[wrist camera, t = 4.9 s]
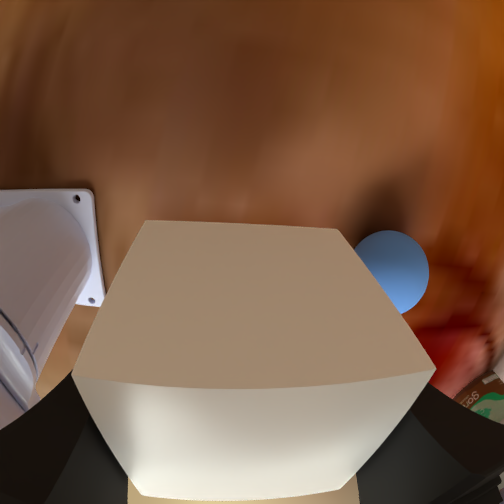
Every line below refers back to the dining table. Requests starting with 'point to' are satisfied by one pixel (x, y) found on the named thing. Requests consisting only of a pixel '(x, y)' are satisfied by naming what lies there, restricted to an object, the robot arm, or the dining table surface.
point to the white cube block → (246, 362)
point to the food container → (484, 396)
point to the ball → (396, 266)
